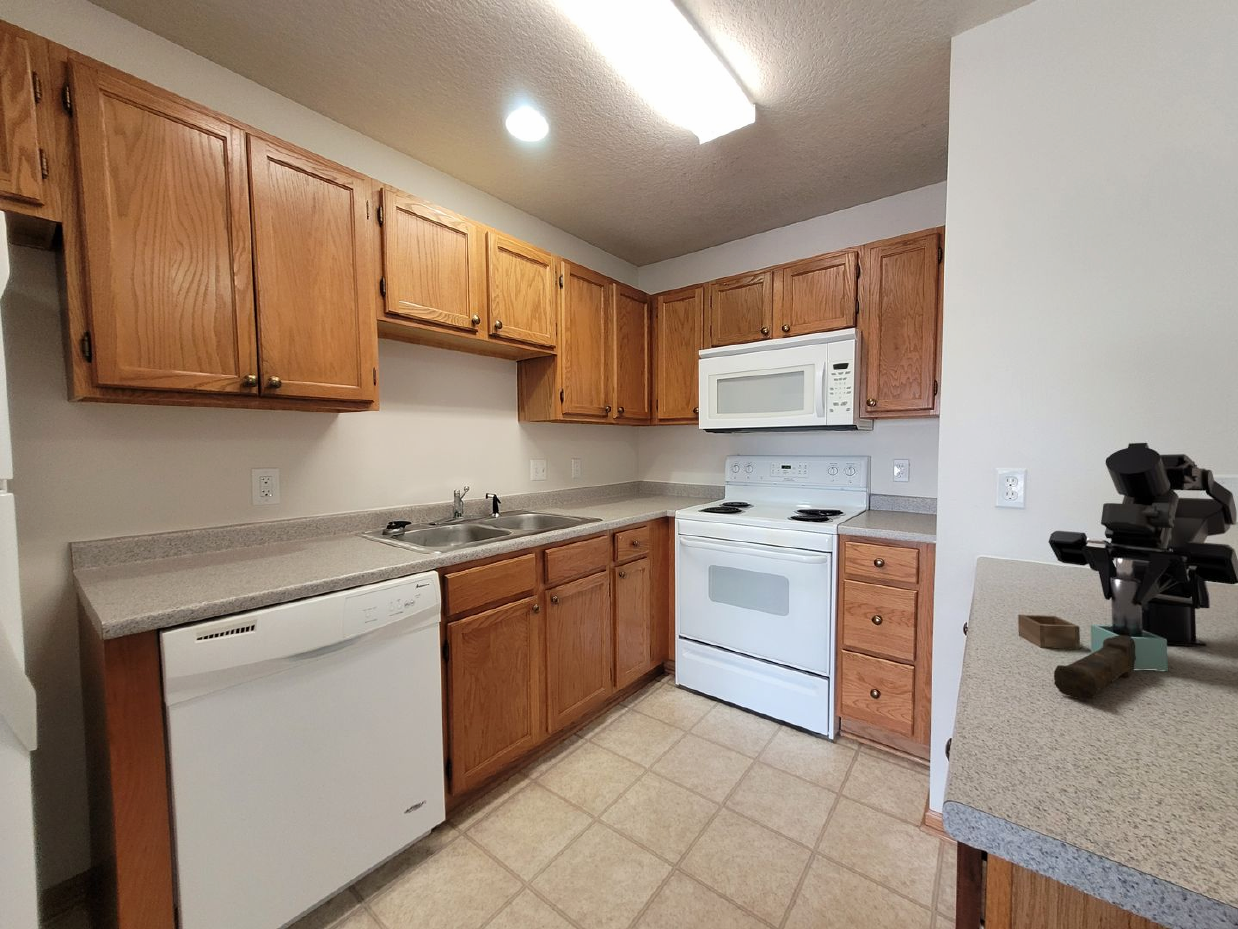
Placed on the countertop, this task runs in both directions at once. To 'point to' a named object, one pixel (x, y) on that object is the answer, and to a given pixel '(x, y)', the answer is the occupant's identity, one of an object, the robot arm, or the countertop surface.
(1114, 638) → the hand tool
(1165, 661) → the hollow teal block
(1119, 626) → the stepped grey cylinder
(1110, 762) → the countertop surface
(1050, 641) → the socket block
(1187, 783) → the countertop surface
